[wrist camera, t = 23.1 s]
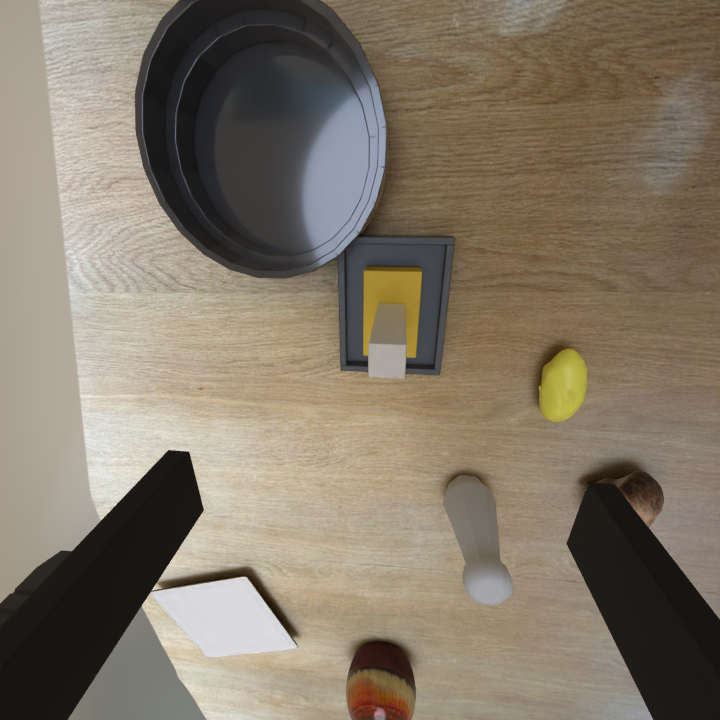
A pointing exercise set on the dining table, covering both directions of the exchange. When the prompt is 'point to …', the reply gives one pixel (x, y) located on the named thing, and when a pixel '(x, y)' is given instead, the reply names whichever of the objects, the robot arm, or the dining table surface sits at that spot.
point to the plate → (225, 617)
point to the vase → (380, 684)
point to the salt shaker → (478, 539)
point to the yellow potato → (563, 385)
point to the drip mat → (435, 286)
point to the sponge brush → (390, 318)
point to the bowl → (262, 132)
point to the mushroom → (640, 494)
